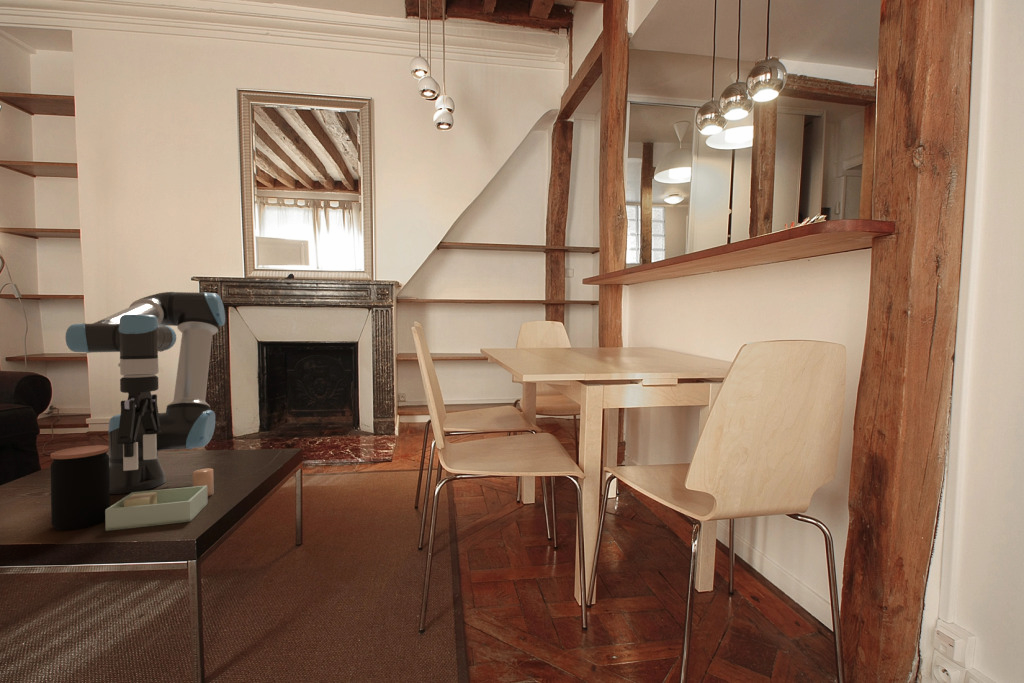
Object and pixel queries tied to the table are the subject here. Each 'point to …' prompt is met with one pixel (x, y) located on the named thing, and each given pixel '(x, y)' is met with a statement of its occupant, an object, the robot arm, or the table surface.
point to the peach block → (204, 479)
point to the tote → (158, 508)
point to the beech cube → (141, 499)
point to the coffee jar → (79, 487)
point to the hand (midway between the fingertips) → (140, 464)
